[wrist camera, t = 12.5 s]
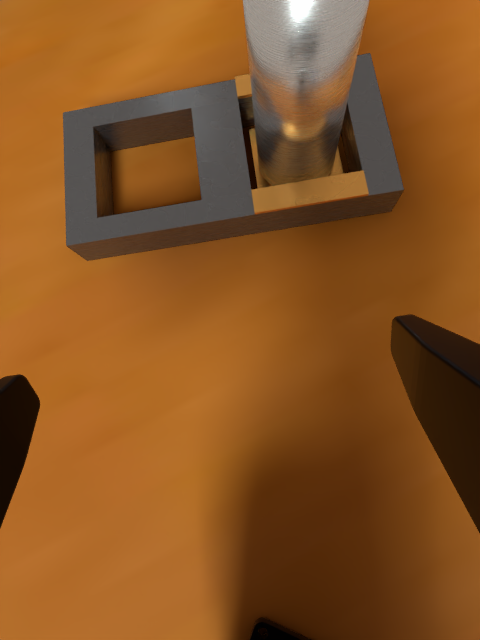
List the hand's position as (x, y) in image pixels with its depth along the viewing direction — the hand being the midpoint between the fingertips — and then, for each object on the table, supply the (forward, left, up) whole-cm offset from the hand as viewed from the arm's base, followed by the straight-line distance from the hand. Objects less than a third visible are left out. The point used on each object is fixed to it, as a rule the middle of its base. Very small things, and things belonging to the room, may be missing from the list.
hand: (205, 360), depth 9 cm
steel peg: (+2, -15, -13) cm, 20 cm away
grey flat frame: (+6, -13, -14) cm, 20 cm away
